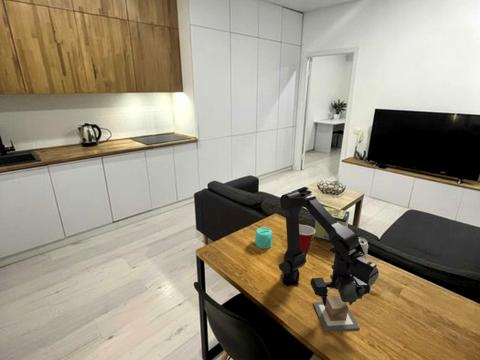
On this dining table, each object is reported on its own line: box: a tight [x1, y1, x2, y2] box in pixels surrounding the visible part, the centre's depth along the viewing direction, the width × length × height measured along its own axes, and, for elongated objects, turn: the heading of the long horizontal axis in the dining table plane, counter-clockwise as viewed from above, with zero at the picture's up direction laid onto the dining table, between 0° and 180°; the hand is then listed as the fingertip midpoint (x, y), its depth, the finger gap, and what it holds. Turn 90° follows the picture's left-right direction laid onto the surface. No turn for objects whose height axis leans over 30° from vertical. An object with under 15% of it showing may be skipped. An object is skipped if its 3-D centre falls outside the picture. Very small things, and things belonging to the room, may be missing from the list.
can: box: [350, 236, 369, 260], centre depth 119 cm, size 8×8×12 cm
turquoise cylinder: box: [254, 226, 273, 249], centre depth 135 cm, size 8×8×8 cm
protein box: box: [313, 206, 350, 244], centre depth 139 cm, size 10×16×16 cm
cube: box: [325, 295, 349, 321], centre depth 92 cm, size 6×6×6 cm
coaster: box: [312, 301, 361, 332], centre depth 93 cm, size 12×12×1 cm
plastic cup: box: [299, 224, 316, 254], centre depth 130 cm, size 11×11×12 cm
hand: (337, 304), depth 91 cm, fingers open, 9 cm apart
